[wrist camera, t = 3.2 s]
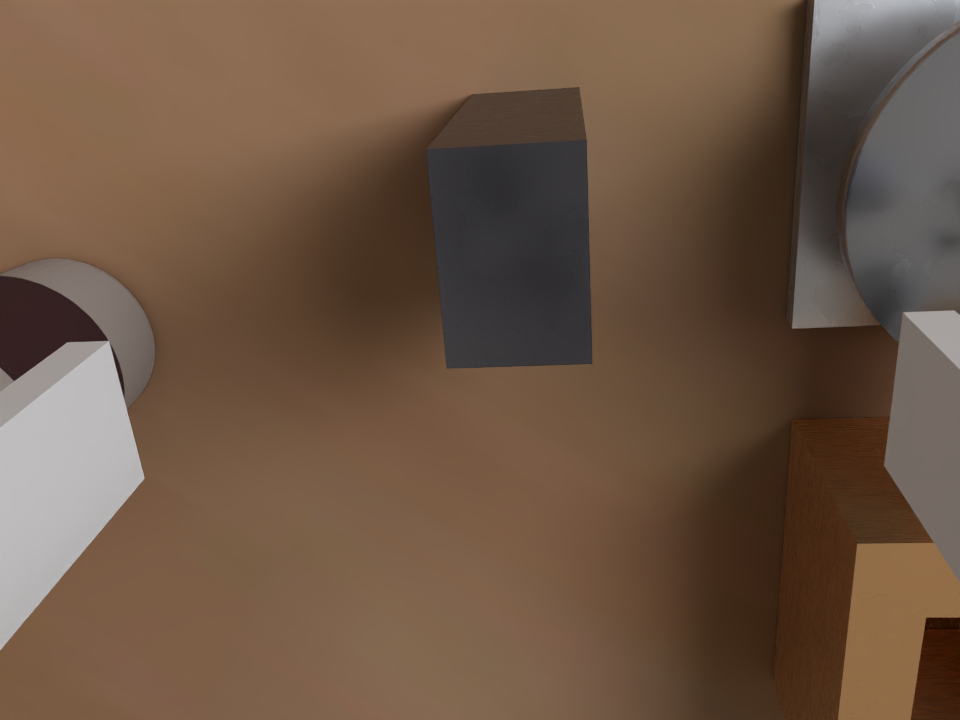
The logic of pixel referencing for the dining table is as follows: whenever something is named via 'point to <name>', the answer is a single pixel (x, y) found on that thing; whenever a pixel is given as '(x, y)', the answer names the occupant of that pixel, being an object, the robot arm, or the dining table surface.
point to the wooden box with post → (881, 301)
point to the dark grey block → (513, 230)
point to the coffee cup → (72, 320)
